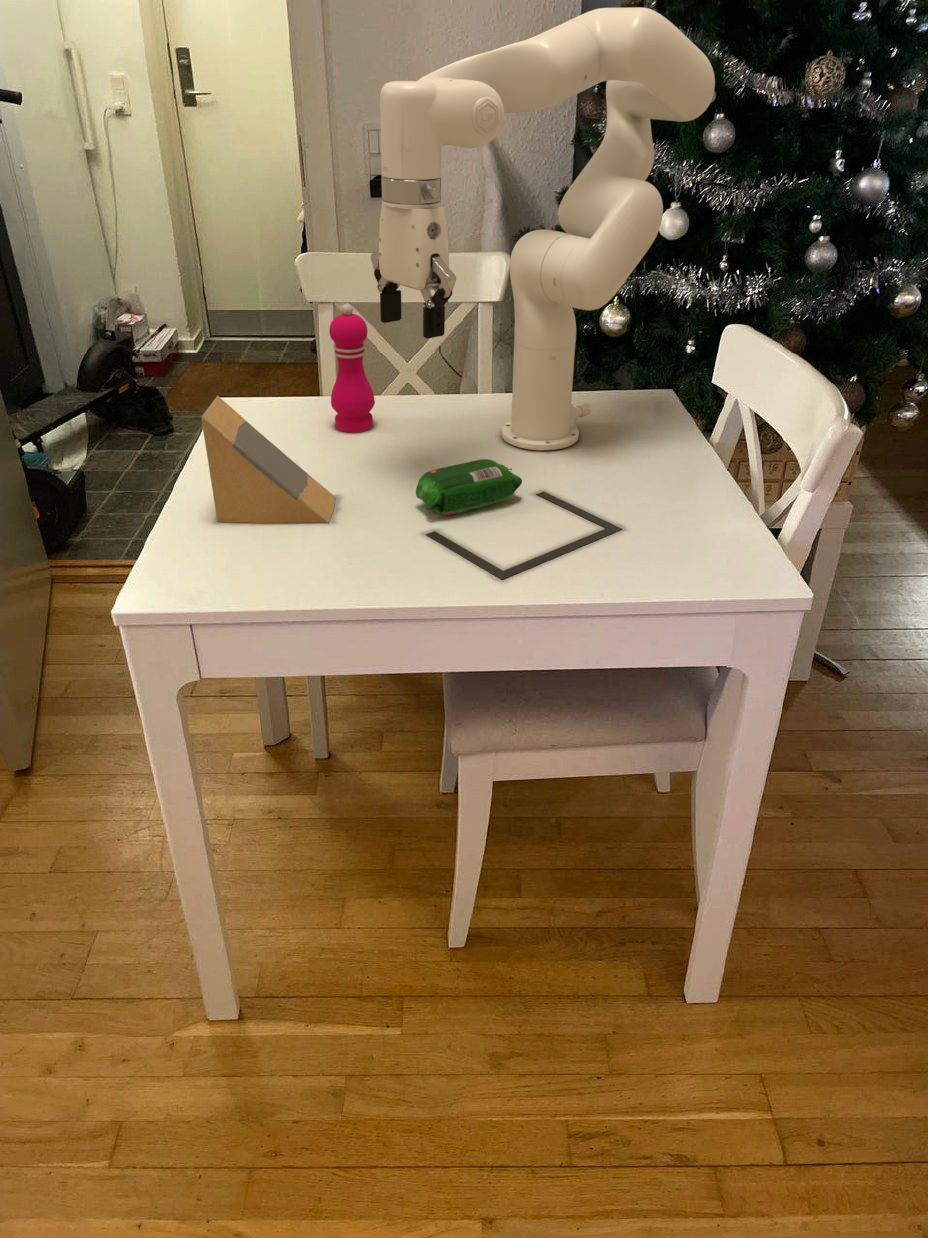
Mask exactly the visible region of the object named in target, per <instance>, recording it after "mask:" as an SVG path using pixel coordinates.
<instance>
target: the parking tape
mask: <svg viewBox="0 0 928 1238" xmlns="http://www.w3.org/2000/svg"><path fill="white" fill-rule="evenodd" d="M536 496H538V497H540V498H541V499H544V500H546V501H548V502H551V503H552V504H554V505H556V506H559V507H561V508H563V509H565V510H567V511H569V512H570V513H573V514H575V515H577V516H580V517H581V518H583V519H586V520H587V521H590V522H592V523H594V524H596V525H598V526H600V527H602V528H603V529H600V530H598V531H596V532H593V533H590V534H589V535H586V536H584V537H582V538H579V539H577V540H575V541H572V542H570V543H567V544H564V545H563V546H559V547H557V548H555V549H552V550H549V551H548V552H545V553H542V554H540V555H538V556H536V557H533V558H531V559H528V560H525V561H523V562H521V563H518V564H515V565H514V566H511V567H509V568H506V569H504V570H503V569H501V568H499V566H496V565H494V564H492V563H491V562H490V561H487V560H486V559H484V558H482V557H481V556H479V555H477V554H475V553H473V552H472V551H471V550H468V549H466V548H465V547H463V546H462V545H460V544H458V543H456V542H454V541H453V540H452V539H449V538H448V537H446V536H444V535H442V534H441V533H439V532H437V531H435V530H433V531H431V532H428V533H425V536H426V537H428V538H430V539H432V540H434V541H435V542H437V543H439V544H440V545H442V546H443V547H446V548H447V549H449V550H451V551H452V552H454V553H456V554H458V555H459V556H460V557H463V558H464V559H466V560H468V561H469V562H471V563H472V564H474V565H476V566H478V567H480V568H481V569H483V571H486V572H488V573H489V574H491V575H493V576H495V577H496V578H498V579H500V580H501V581H503V580H506V579H508V578H510V577H513V576H515V575H517V574H521V573H522V572H524V571H527V570H530V569H532V568H534V567H537V566H539V565H541V564H543V563H546V562H548V561H552V560H553V559H555V558H558V557H561V556H563V555H565V554H567V553H570V552H572V551H575V550H577V549H580V548H582V547H584V546H586V545H589V544H591V543H593V542H594V543H595V542H596V541H599V540H600V539H603V538H606V537H608V536H610V535H613V534H616V533H617V532H620V531H622V530H623V528H622V527H619V526H618V525H616V524H613V523H611V522H610V521H607V520H606V519H603V518H601V517H599V516H597V515H594V514H593V513H591V512H589V511H586V510H584V509H582V508H580V507H578V506H575V505H573V504H571V503H570V502H568V501H566V500H563V499H561V498H559V497H556V496H554V495H553V494H551V493H548V492H546V491H541V492H538V493H536Z"/></svg>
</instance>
